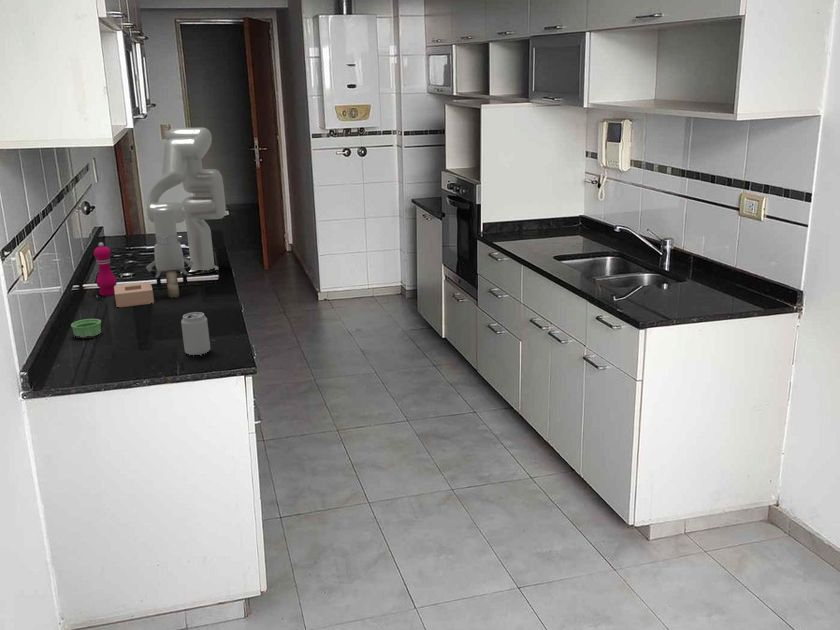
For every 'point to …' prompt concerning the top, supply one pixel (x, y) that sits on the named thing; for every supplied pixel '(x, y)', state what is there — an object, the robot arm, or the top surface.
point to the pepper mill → (104, 271)
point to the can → (195, 333)
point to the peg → (172, 283)
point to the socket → (133, 294)
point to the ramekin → (86, 327)
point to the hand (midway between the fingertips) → (172, 285)
